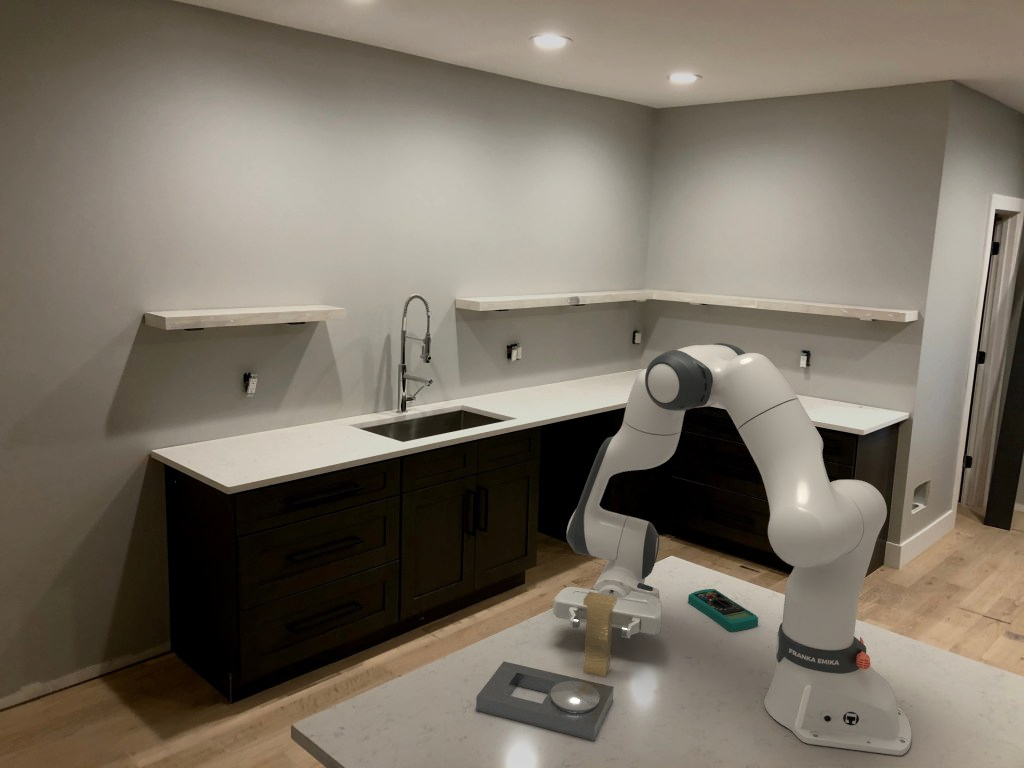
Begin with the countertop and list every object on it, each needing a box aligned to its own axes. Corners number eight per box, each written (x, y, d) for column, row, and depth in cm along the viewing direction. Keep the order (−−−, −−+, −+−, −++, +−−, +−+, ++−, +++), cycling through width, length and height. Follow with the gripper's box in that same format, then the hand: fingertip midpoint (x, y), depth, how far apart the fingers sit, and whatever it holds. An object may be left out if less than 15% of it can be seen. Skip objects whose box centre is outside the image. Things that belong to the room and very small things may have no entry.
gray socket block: (612, 700, 135) (613, 682, 134) (594, 741, 124) (595, 721, 123) (503, 674, 142) (503, 657, 141) (476, 710, 131) (476, 692, 130)
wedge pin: (613, 668, 145) (617, 596, 142) (608, 678, 141) (612, 605, 139) (585, 662, 147) (589, 591, 144) (580, 672, 143) (583, 599, 141)
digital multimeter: (712, 598, 175) (713, 585, 175) (759, 628, 162) (760, 615, 162) (685, 603, 172) (686, 590, 172) (730, 635, 159) (731, 621, 159)
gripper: (563, 573, 158) (544, 603, 145) (667, 590, 152) (657, 622, 139) (562, 603, 159) (543, 635, 146) (665, 621, 153) (654, 656, 140)
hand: (599, 629), depth 143 cm, fingers open, 8 cm apart
